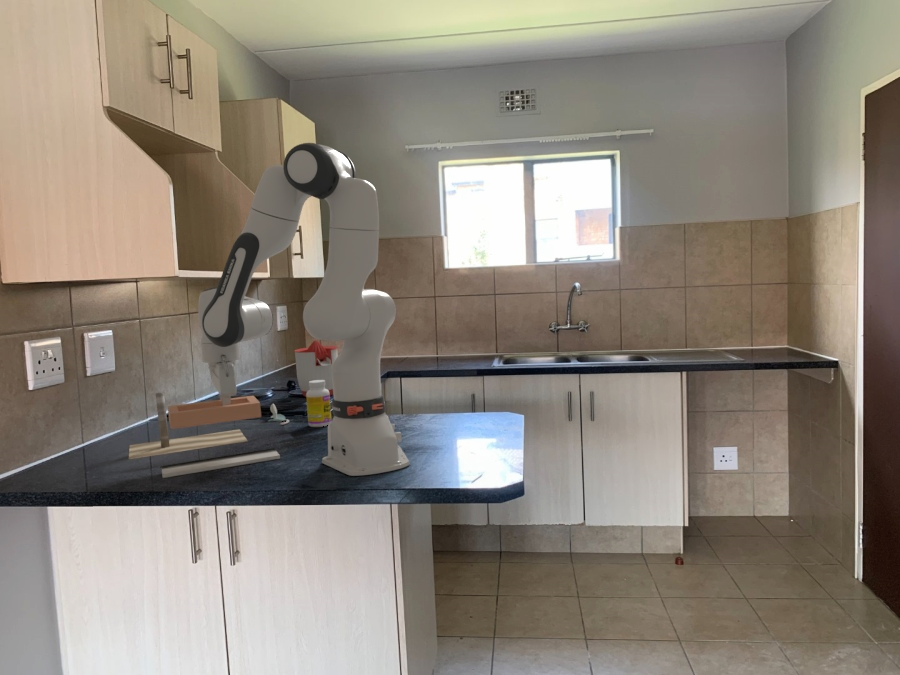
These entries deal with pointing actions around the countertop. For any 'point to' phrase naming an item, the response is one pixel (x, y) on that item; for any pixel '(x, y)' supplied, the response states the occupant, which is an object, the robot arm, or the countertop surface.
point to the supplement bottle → (318, 404)
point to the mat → (219, 462)
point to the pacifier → (277, 416)
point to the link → (213, 412)
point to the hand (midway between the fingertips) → (226, 409)
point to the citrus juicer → (315, 365)
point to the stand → (181, 443)
